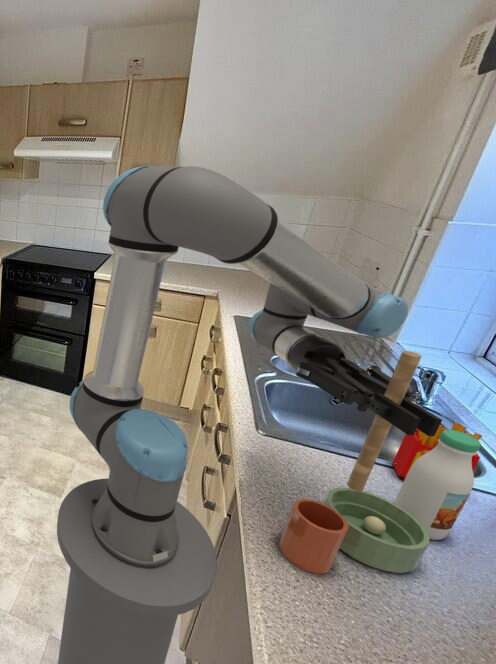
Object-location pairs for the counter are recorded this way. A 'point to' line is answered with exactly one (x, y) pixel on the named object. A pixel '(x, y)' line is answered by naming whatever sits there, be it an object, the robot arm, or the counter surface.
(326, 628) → the counter surface
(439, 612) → the counter surface
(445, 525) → the milk bottle
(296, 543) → the utensil cup
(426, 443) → the french fries container
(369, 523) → the ball
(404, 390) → the stirring stick
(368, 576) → the counter surface
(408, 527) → the bowl
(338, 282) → the robot arm
